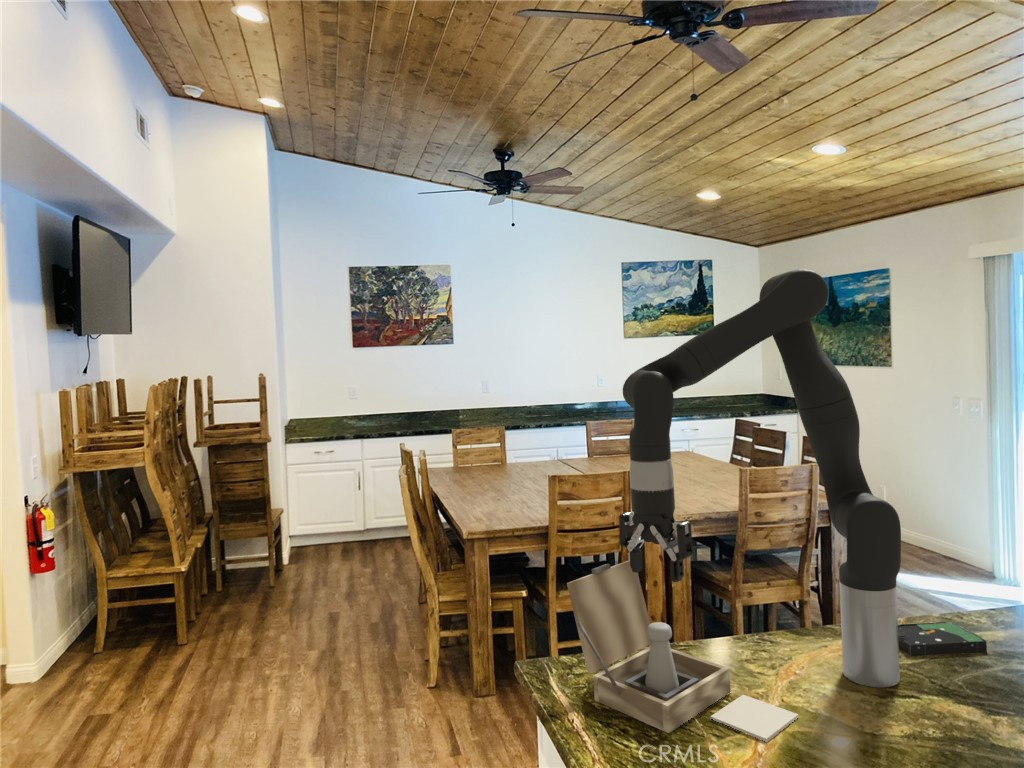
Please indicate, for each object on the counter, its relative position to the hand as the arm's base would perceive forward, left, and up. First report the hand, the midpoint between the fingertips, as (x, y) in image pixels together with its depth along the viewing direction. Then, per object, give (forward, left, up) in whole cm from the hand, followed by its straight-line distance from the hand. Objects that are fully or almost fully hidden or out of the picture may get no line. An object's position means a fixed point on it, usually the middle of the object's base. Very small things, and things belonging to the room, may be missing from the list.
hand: (656, 576), depth 125 cm
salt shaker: (0, 0, -22) cm, 22 cm away
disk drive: (-53, +26, -22) cm, 63 cm away
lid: (0, -10, -9) cm, 14 cm away
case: (+1, -1, -22) cm, 22 cm away
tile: (-4, +16, -22) cm, 27 cm away
